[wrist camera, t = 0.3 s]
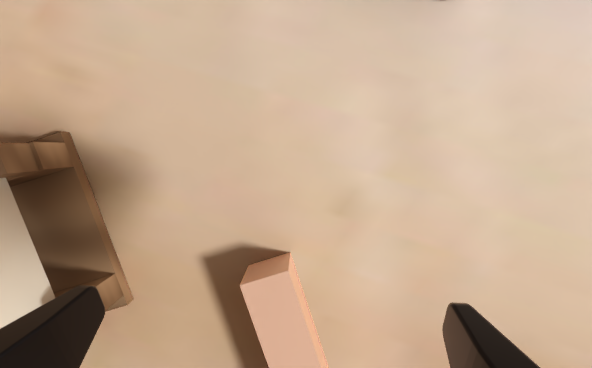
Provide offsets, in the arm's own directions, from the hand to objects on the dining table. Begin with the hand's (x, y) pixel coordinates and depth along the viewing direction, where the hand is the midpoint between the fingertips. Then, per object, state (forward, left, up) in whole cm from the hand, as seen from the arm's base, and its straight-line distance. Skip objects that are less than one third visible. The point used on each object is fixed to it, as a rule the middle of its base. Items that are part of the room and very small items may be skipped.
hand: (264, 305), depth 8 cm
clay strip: (-10, +2, -14) cm, 17 cm away
